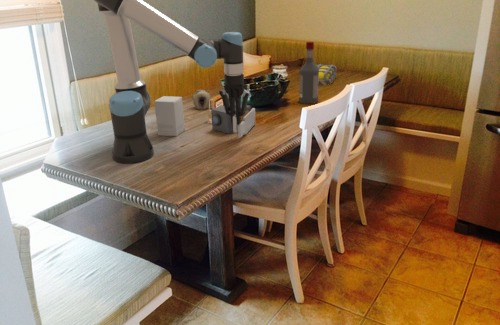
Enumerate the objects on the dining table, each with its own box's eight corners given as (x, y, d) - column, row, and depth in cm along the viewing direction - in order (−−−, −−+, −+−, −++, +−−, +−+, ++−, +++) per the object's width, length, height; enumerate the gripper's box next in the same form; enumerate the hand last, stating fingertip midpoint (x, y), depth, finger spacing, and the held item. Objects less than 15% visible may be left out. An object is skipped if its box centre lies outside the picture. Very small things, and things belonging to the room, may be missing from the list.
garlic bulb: (194, 112, 228) (187, 93, 225) (208, 106, 232) (201, 88, 230) (202, 110, 220) (195, 91, 217) (216, 104, 224) (209, 85, 222)
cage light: (338, 63, 284) (330, 73, 258) (337, 76, 287) (329, 86, 261) (315, 62, 288) (305, 72, 262) (315, 75, 291) (305, 85, 265)
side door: (241, 140, 179) (240, 122, 176) (237, 140, 180) (237, 122, 177) (255, 124, 198) (255, 108, 195) (252, 124, 198) (252, 107, 195)
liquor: (318, 99, 235) (320, 40, 223) (316, 104, 227) (318, 43, 215) (301, 98, 237) (302, 40, 225) (298, 103, 229) (299, 43, 217)
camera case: (226, 134, 187) (225, 112, 184) (210, 129, 194) (208, 107, 190) (251, 125, 198) (250, 104, 194) (234, 121, 204) (234, 100, 200)
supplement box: (185, 129, 195) (182, 96, 189) (177, 136, 187) (173, 101, 181) (166, 128, 197) (163, 95, 191) (157, 135, 189) (153, 100, 183)
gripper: (253, 72, 173) (254, 130, 183) (223, 70, 178) (226, 127, 187) (245, 76, 167) (247, 136, 176) (214, 74, 172) (218, 132, 181)
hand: (236, 131), depth 182 cm, fingers closed
